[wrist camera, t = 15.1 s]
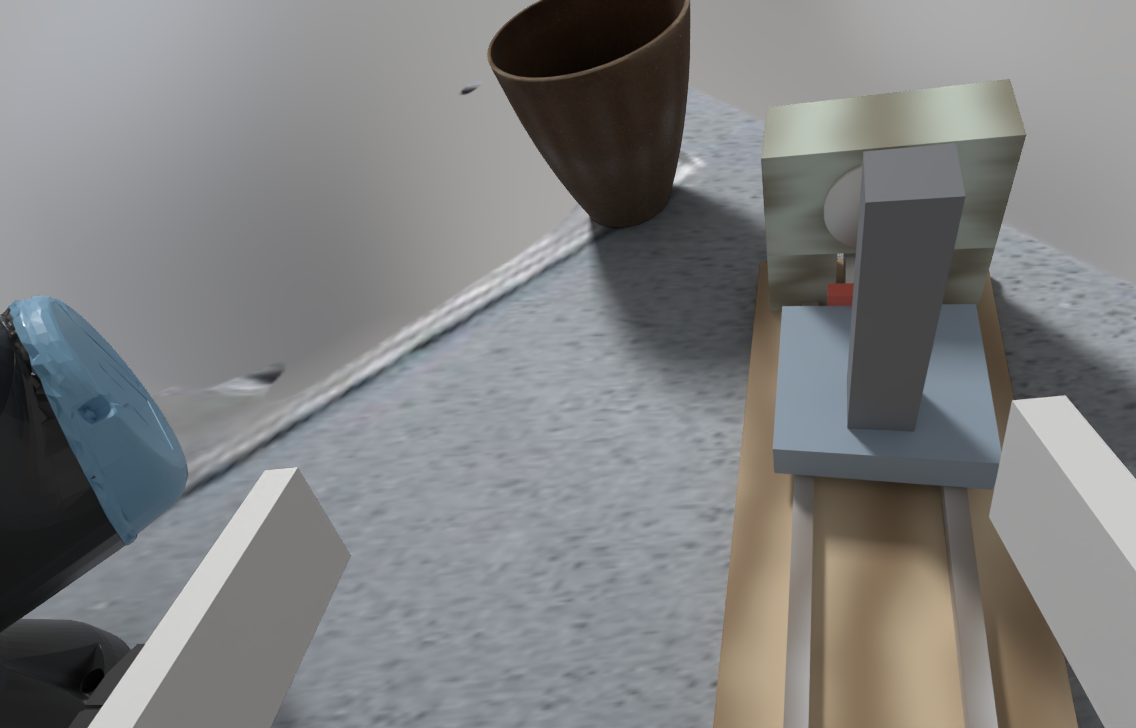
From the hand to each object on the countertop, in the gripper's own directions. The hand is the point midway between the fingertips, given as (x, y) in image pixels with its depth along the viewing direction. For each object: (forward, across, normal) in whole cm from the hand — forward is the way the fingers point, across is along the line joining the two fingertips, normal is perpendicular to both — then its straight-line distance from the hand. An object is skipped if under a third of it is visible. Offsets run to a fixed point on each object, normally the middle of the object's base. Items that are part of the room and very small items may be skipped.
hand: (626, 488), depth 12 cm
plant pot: (+47, -3, -12) cm, 49 cm away
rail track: (+16, +9, -20) cm, 27 cm away
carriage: (+21, +10, -16) cm, 28 cm away
